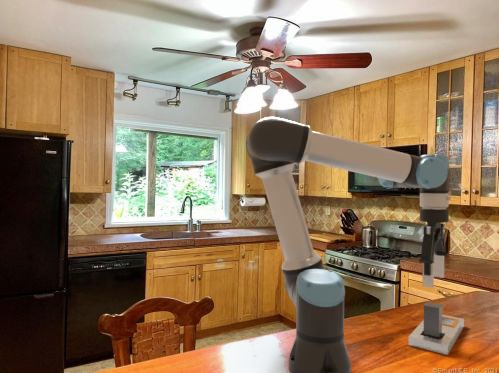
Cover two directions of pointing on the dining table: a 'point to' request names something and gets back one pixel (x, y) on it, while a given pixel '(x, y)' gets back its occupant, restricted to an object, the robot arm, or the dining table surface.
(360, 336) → the dining table surface
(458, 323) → the grey peg hole board
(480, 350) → the dining table surface
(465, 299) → the dining table surface
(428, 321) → the steel peg
